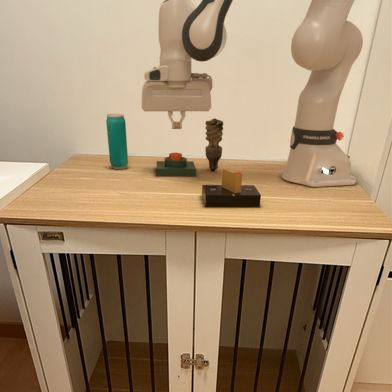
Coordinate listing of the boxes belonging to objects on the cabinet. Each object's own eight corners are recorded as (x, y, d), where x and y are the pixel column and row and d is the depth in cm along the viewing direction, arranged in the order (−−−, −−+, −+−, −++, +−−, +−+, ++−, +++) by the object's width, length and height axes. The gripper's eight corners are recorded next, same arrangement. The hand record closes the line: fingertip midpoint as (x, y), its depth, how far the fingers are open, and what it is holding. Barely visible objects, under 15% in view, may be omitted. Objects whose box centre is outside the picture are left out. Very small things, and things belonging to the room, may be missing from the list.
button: (181, 158, 129) (181, 152, 128) (182, 161, 126) (182, 155, 125) (169, 158, 129) (168, 152, 128) (169, 161, 126) (169, 155, 125)
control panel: (252, 195, 112) (253, 183, 110) (260, 208, 103) (261, 195, 101) (201, 195, 111) (201, 183, 109) (205, 208, 102) (206, 195, 100)
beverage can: (126, 165, 135) (122, 113, 126) (130, 169, 131) (126, 116, 122) (108, 166, 134) (104, 113, 125) (112, 170, 129) (107, 116, 120)
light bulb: (201, 171, 131) (203, 118, 122) (206, 168, 135) (208, 116, 126) (218, 173, 130) (221, 120, 121) (222, 170, 134) (226, 117, 125)
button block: (193, 168, 134) (193, 155, 132) (195, 176, 126) (196, 162, 124) (156, 168, 133) (156, 154, 131) (156, 176, 125) (156, 162, 123)
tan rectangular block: (221, 186, 107) (222, 167, 104) (227, 186, 108) (228, 166, 105) (234, 193, 103) (236, 173, 100) (240, 192, 103) (242, 172, 101)
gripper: (211, 72, 117) (210, 127, 126) (139, 72, 116) (143, 127, 124) (214, 73, 112) (212, 130, 120) (139, 73, 111) (142, 130, 119)
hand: (176, 128), depth 122 cm, fingers closed
